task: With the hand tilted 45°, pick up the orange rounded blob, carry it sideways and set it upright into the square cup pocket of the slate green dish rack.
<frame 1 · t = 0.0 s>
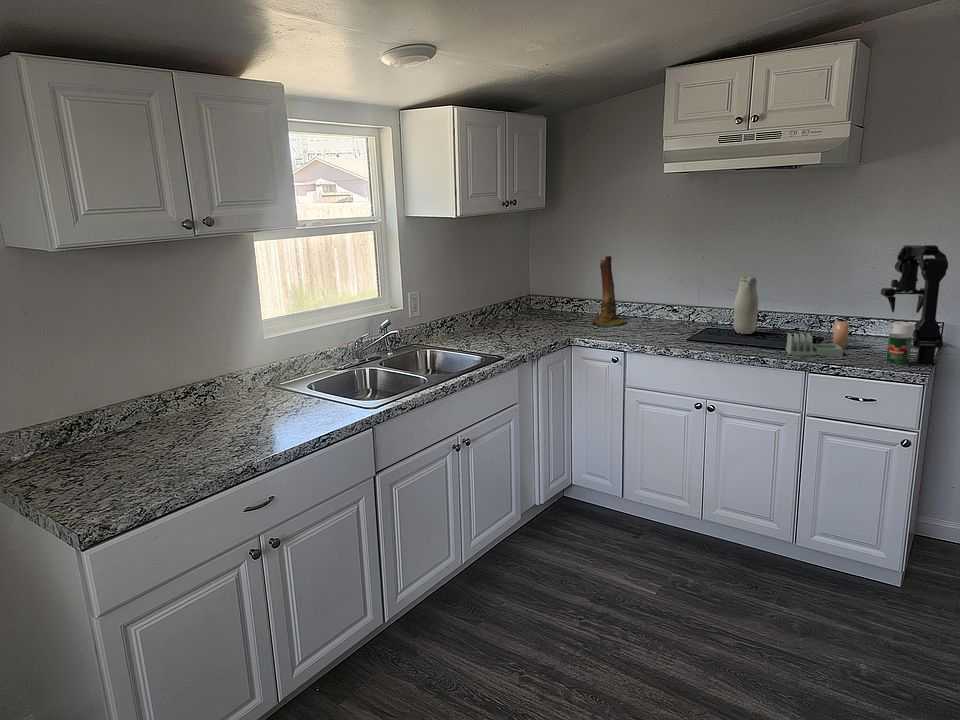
hand: (904, 312, 291), 15 cm above the worktop, tool pointing down, fingers open, 9 cm apart
dish rack: (826, 353, 285), on the worktop
canned tomato: (896, 363, 267), on the worktop
glass bottle: (744, 334, 327), on the worktop
white cup: (901, 347, 294), on the worktop
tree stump: (608, 323, 364), on the worktop
orange rounded blob: (839, 347, 296), on the worktop
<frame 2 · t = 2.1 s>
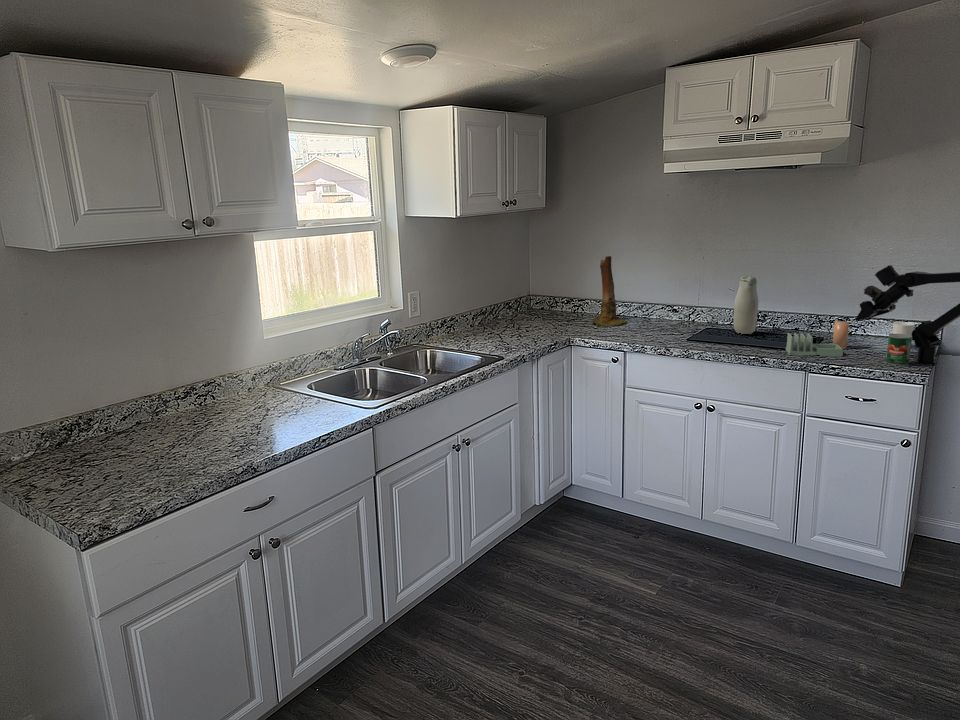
hand: (861, 318, 286), 14 cm above the worktop, tool tilted 45°, fingers open, 9 cm apart
nothing on the worktop moved.
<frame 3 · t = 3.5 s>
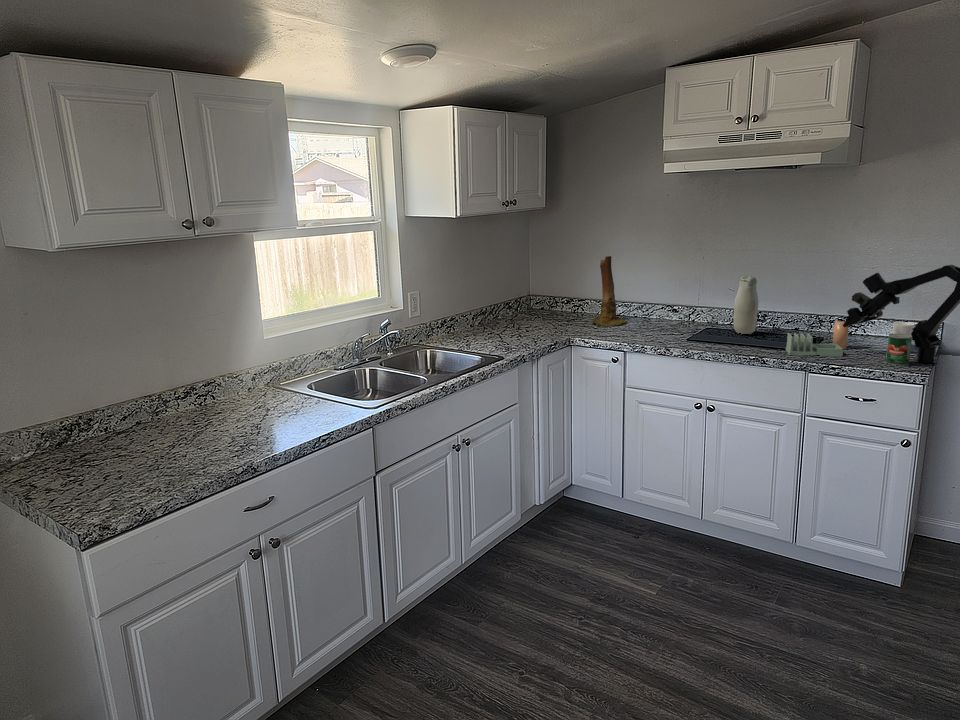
hand: (849, 325, 291), 10 cm above the worktop, tool tilted 45°, fingers open, 9 cm apart
nothing on the worktop moved.
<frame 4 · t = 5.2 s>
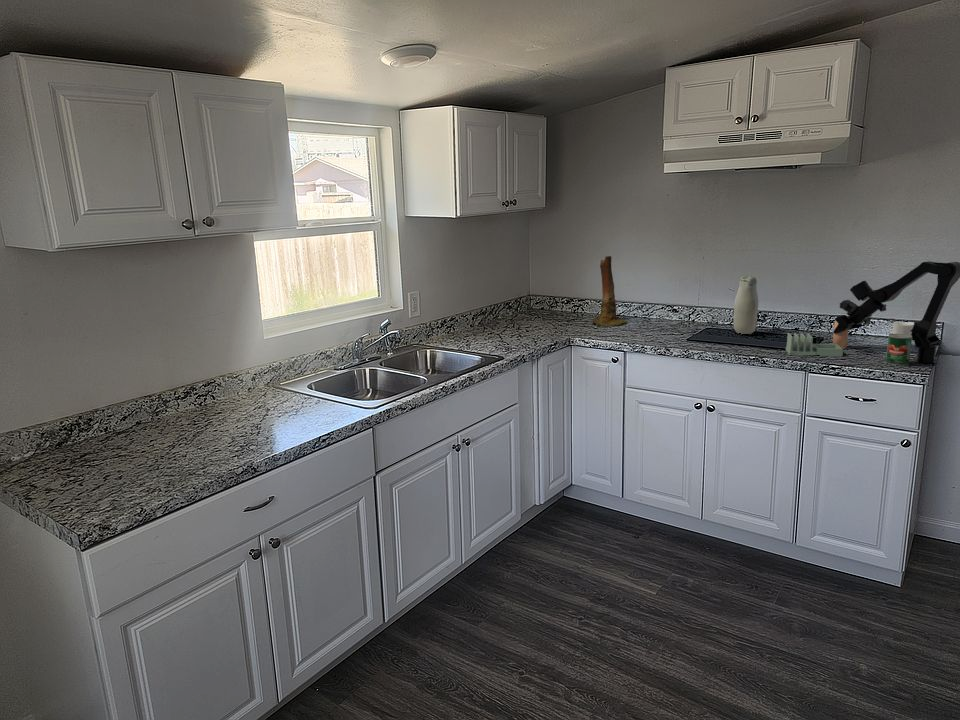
hand: (837, 331, 295), 7 cm above the worktop, tool tilted 45°, fingers closed on orange rounded blob, 5 cm apart
orange rounded blob: (839, 347, 296), on the worktop, touching gripper
everything else where it was.
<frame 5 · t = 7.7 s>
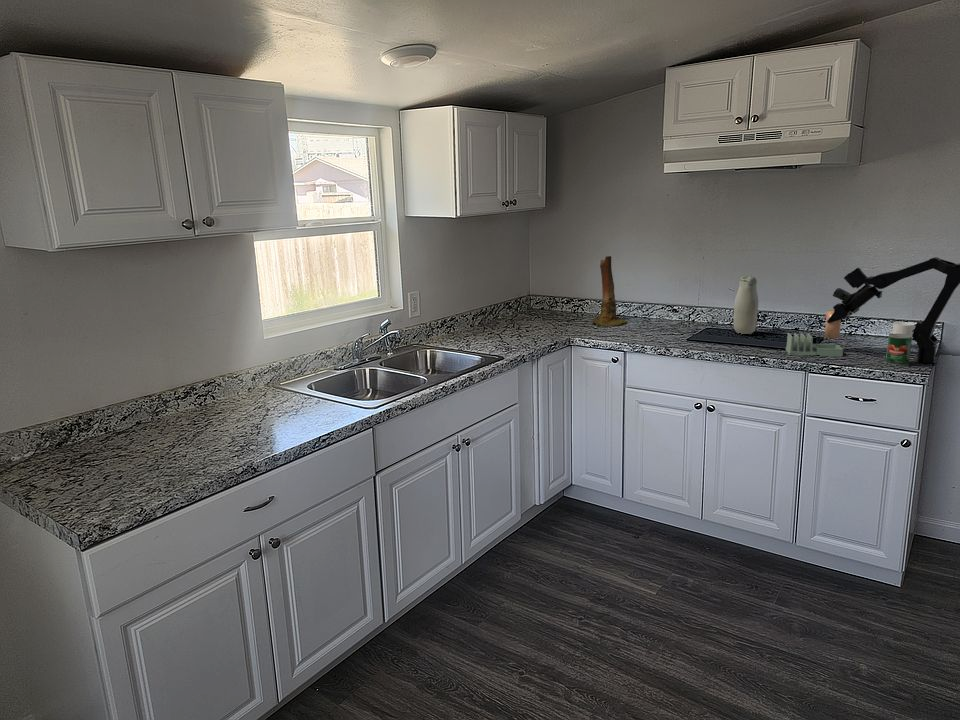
hand: (829, 321, 288), 12 cm above the worktop, tool tilted 45°, fingers closed on orange rounded blob, 5 cm apart
orange rounded blob: (831, 337, 289), point 6 cm above the worktop, touching gripper
everything else where it was.
when the fingers open (8 cm above the worktop, at t = 10.3 s): orange rounded blob drops 1 cm, resting in dish rack.
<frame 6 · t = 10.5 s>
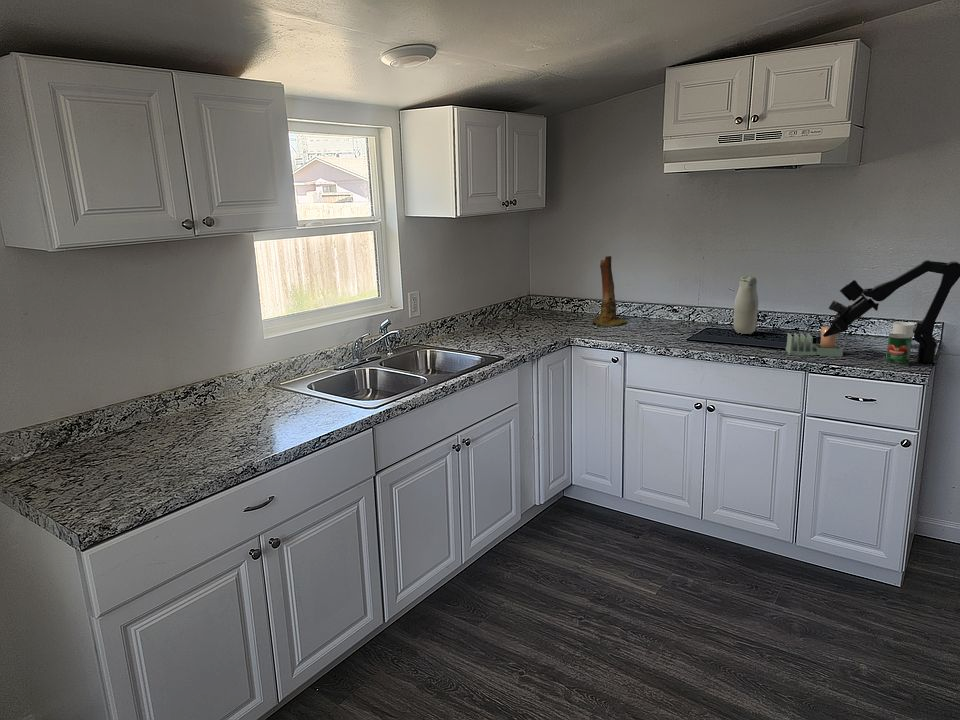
hand: (824, 334, 284), 8 cm above the worktop, tool tilted 45°, fingers open, 8 cm apart
orange rounded blob: (826, 353, 285), resting in dish rack
everything else where it was.
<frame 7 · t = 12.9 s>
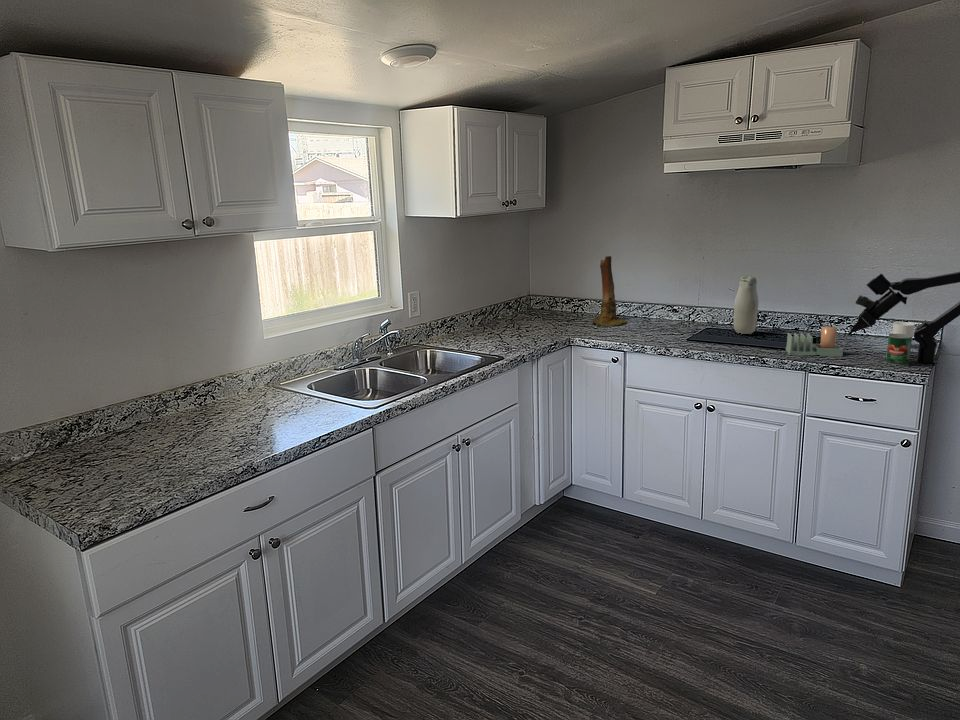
hand: (852, 329, 279), 11 cm above the worktop, tool tilted 45°, fingers open, 9 cm apart
nothing on the worktop moved.
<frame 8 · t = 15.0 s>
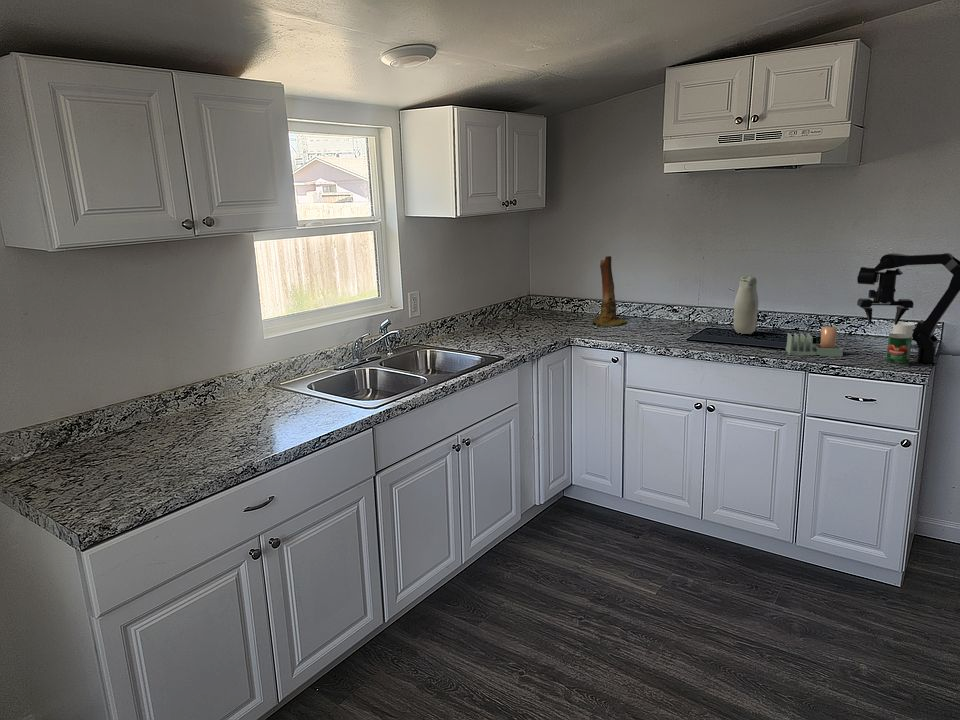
hand: (882, 324, 276), 13 cm above the worktop, tool pointing down, fingers open, 9 cm apart
nothing on the worktop moved.
at the end: orange rounded blob 0.1 cm off-centre on the dish rack, point 0.0 cm above the dish rack's base; orange rounded blob tilted 0°; the gripper is holding nothing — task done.
